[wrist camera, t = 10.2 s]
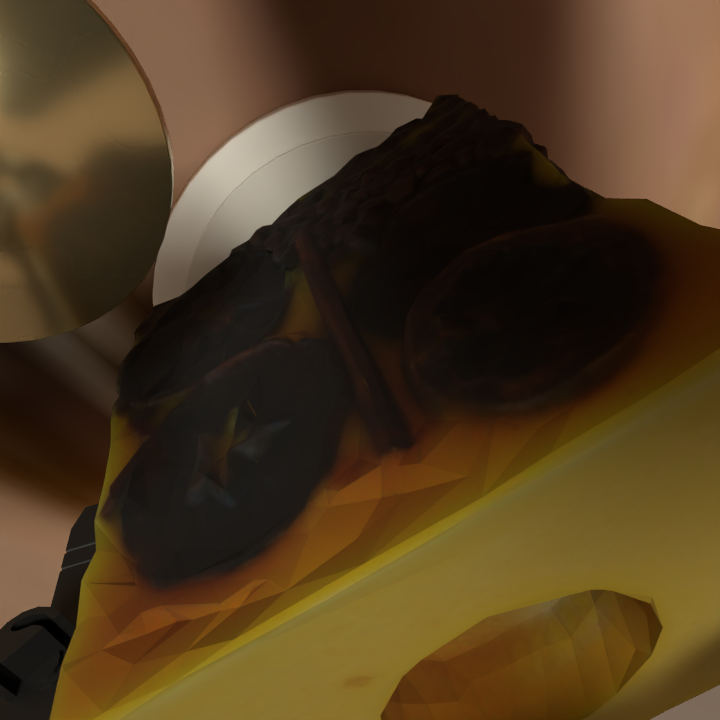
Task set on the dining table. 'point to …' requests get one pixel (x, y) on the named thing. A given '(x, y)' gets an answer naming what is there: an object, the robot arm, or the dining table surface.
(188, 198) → the dish
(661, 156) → the dining table surface
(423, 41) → the dining table surface
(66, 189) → the balance
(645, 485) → the candle
